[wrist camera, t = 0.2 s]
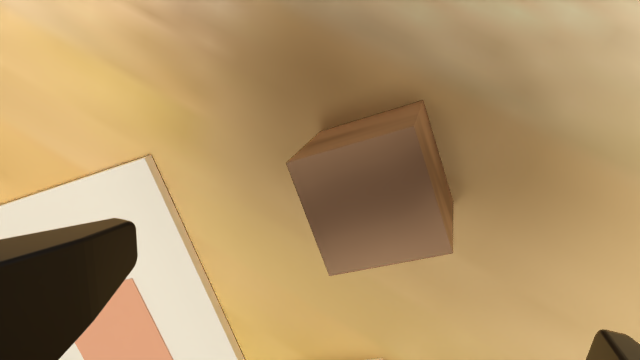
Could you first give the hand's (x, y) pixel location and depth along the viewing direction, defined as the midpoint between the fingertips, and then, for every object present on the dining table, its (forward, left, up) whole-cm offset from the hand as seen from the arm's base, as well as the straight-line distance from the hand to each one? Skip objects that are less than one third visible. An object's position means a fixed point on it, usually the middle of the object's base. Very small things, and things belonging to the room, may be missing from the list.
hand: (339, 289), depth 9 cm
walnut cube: (-2, +2, -14) cm, 14 cm away
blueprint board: (-8, +22, -13) cm, 26 cm away
